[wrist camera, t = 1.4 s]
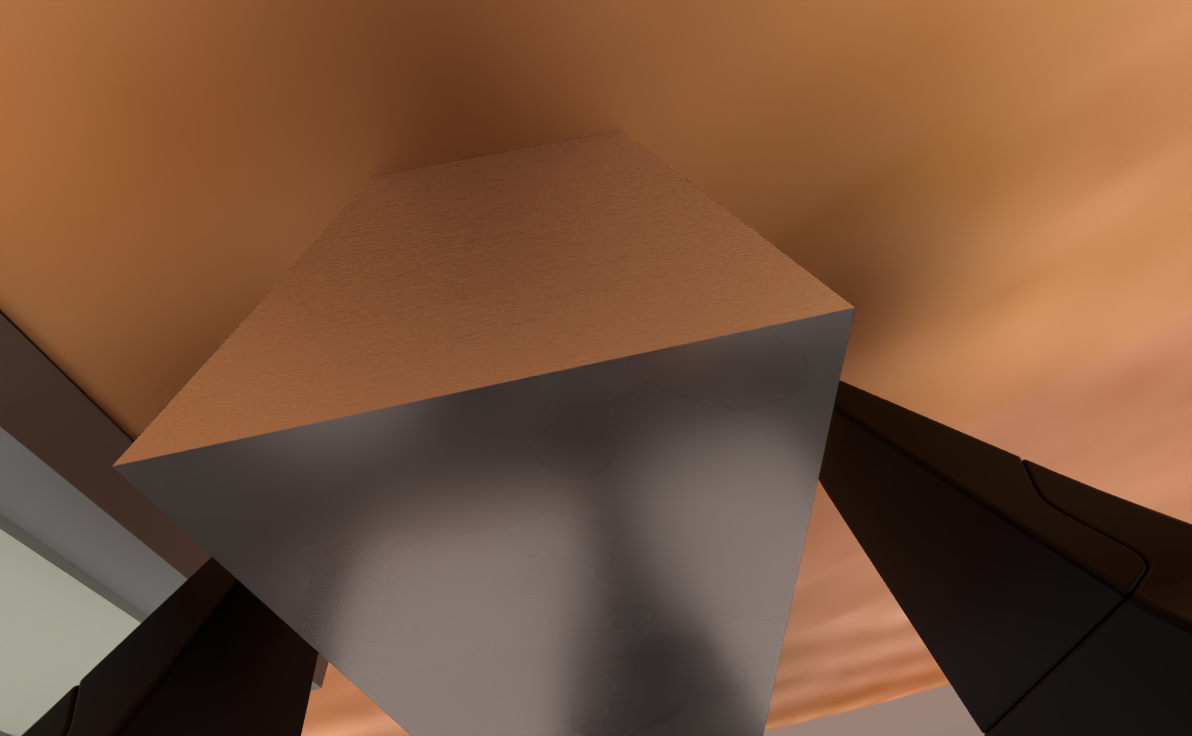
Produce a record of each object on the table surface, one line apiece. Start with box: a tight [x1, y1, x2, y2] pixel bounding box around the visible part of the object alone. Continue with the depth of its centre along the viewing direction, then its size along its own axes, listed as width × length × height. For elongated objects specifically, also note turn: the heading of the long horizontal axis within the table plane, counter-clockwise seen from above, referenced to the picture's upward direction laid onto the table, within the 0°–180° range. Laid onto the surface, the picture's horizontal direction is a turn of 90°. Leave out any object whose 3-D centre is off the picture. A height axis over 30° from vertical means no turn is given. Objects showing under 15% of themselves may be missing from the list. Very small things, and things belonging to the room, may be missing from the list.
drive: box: [112, 130, 855, 736], centre depth 8 cm, size 9×5×7 cm, turn 8°
